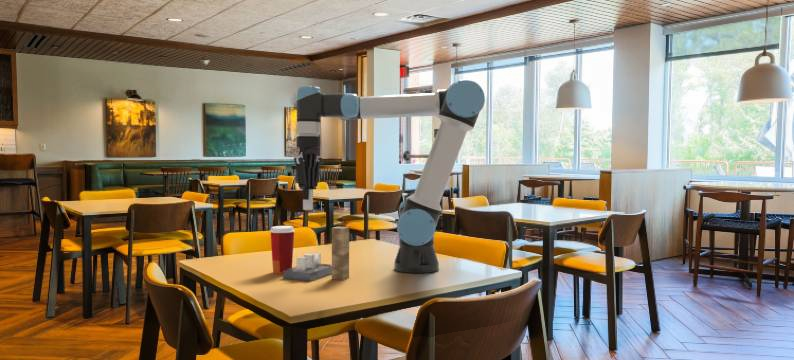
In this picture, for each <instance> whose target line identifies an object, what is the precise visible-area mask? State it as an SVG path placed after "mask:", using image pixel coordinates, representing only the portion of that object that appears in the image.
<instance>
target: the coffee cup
mask: <svg viewBox="0 0 794 360" xmlns="http://www.w3.org/2000/svg"><path fill="white" fill-rule="evenodd" d="M294 228H295V227H294V226H292V225H276V226H271V228H270V230H269V231H268V232H270V243H271V258H272V259H271V260H272V272H273V273H272V274H274V275H275V274H276V275H283V270H287V269H290V268H293V259H294V258H293V257H294V256H293V255H294V243H295V242H294V241H295V239H294V238H295V232H296V230H295V229H294Z"/></svg>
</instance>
